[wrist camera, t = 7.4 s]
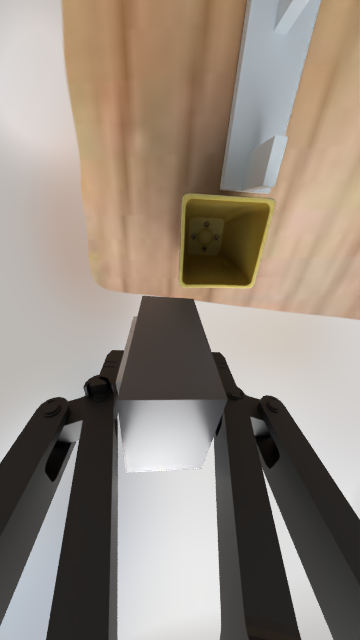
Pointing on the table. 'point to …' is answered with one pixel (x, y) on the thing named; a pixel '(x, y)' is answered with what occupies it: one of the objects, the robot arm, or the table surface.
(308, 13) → the grey pronged bracket
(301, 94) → the table surface
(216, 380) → the block
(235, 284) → the flower pot
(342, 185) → the table surface
